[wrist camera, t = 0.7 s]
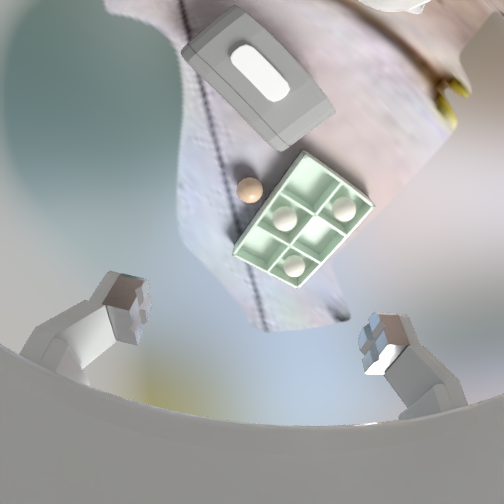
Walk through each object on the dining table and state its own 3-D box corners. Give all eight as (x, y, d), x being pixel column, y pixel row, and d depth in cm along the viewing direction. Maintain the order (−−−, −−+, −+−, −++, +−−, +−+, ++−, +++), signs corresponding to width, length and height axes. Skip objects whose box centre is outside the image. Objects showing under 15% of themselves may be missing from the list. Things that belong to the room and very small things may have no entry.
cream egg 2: (290, 246, 54) (292, 260, 50) (308, 256, 55) (310, 270, 52) (278, 261, 56) (278, 275, 53) (295, 271, 57) (296, 285, 54)
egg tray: (302, 149, 43) (305, 154, 41) (369, 197, 47) (375, 206, 45) (234, 244, 55) (232, 255, 52) (297, 278, 59) (298, 289, 56)
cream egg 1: (280, 197, 48) (281, 208, 45) (301, 209, 49) (303, 221, 46) (267, 215, 50) (267, 228, 47) (287, 227, 52) (288, 240, 48)
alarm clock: (194, 55, 35) (165, 47, 24) (238, 17, 31) (226, -6, 20) (279, 141, 43) (283, 165, 32) (324, 108, 39) (345, 119, 28)
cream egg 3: (339, 187, 46) (345, 198, 43) (357, 201, 47) (364, 212, 44) (324, 206, 49) (329, 217, 45) (342, 218, 50) (348, 230, 46)
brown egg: (246, 169, 46) (244, 177, 43) (268, 182, 47) (267, 191, 44) (233, 189, 48) (230, 199, 45) (254, 201, 50) (253, 212, 46)
